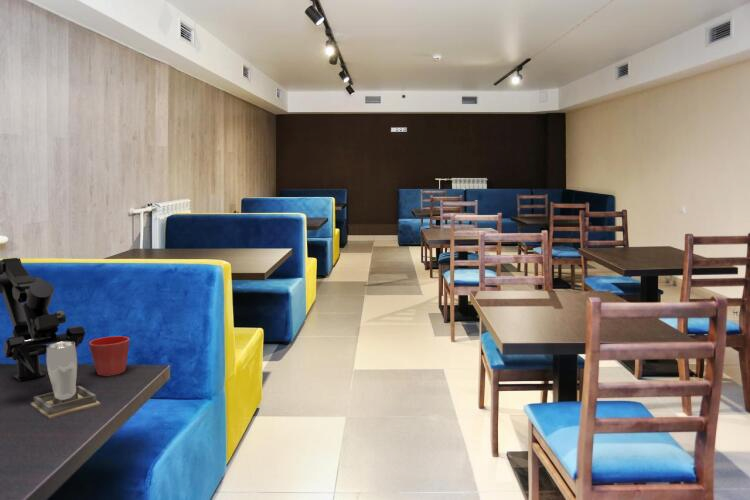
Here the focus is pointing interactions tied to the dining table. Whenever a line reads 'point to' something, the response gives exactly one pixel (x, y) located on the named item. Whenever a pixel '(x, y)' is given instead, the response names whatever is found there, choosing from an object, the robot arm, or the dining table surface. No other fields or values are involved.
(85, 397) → the tray
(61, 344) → the beer glass
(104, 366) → the flower pot
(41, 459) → the dining table surface
